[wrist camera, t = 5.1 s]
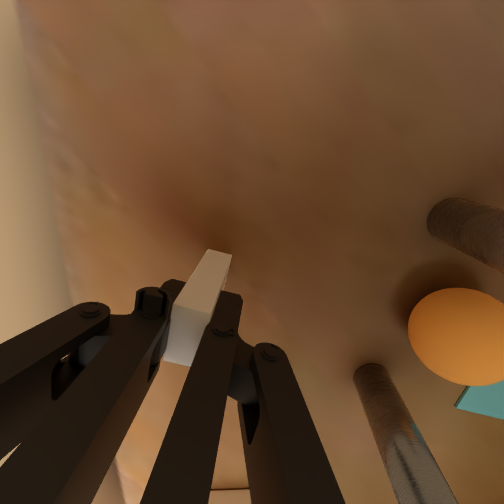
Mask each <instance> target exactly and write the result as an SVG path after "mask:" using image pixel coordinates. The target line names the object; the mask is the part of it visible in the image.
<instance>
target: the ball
mask: <svg viewBox="0 0 504 504" xmlns="http://www.w3.org/2000/svg"><path fill="white" fill-rule="evenodd" d="M408 336H409V340H410V343H411V346H412V348H413V350H414V352H415V354H416V355H417V356H418V358H419V359H420V360H421V361H422V363H423V364H424V365H425V366H426V367H428V368H429V369H430V370H431V371H433V372H434V373H435V374H437V375H439V376H440V377H442V378H444V379H446V380H448V381H451V382H454V383H458V384H461V385H467V386H486V385H491V384H495V383H498V382H500V381H502V380H504V304H503V303H501V302H500V301H499V300H497V299H495V298H493V297H492V296H490V295H487V294H485V293H483V292H480V291H477V290H473V289H468V288H446V289H442V290H438V291H435V292H433V293H431V294H429V295H427V296H426V297H424V298H423V299H422V300H421V301H419V302H418V304H417V305H416V306H415V307H414V309H413V311H412V313H411V315H410V318H409V322H408Z"/></svg>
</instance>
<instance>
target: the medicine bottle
mask: <svg viewBox="0 0 504 504" xmlns="http://www.w3.org/2000/svg"><path fill="white" fill-rule="evenodd" d="M208 504H251V497H250V490H249V489H240V490H215V491H210V496H209V502H208Z"/></svg>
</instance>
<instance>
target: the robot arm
mask: <svg viewBox="0 0 504 504" xmlns="http://www.w3.org/2000/svg"><path fill="white" fill-rule="evenodd" d="M231 258H232V255H231V254H227V253H223V252H219V251H215V250H211V249H208V250H207V251H206V253H205V254H204V256H203V257H202V259H201V261H200V262H199V264H198V265H197V267H196V268H195V270H194V272H193V273H192V275H191V276H190V278H189V279H188V281H187V282H183V281H179V280H175V279H171V280H169V281H166V282H164V284H163V285H162V286H161V287H160V288H158V287H145V288H142V289H139V290H138V291H136V300H135V308H134V311H133V312H132V313H131V314H128V315H113V314H110V311H111V310H110V308H109V307H108V306H107V305H105V304H103V303H99V302H86V303H81V304H78V305H76V306H74V307H72V308H70V309H68V310H66V311H64V312H62V313H60V314H58V315H56V316H54V317H52V318H50V319H48V320H46V321H44V322H43V323H41V324H39V325H37V326H35V327H33V328H31V329H29V330H27V331H25V332H23V333H21V334H19V335H17V336H15V337H14V338H11V339H9V340H7V341H5V342H4V343H2V344H0V460H1V459H2V458H3V457H5V456H6V455H7V454H8V453H9V452H10V451H12V450H13V449H14V448H15V447H16V446H18V445H19V444H20V443H21V444H20V445H19V446H18V447H17V448H16V449H15V451H14V452H13V453H12V454H11V455H10V457H9V458H8V459H7V460H6V461H5V462H4V464H3V465H2V466H1V467H0V504H91V503H92V501H93V499H94V496H95V495H96V493H97V491H98V489H99V487H100V485H101V483H102V481H103V479H104V477H105V475H106V473H107V471H108V469H109V467H110V465H111V463H112V461H113V459H114V457H115V455H116V453H117V451H118V449H119V447H120V445H121V443H122V441H123V439H124V437H125V435H126V433H127V431H128V429H129V427H130V425H131V423H132V422H133V420H134V418H135V416H136V414H137V412H138V410H139V408H140V406H141V404H142V402H143V400H144V398H145V396H146V394H147V392H148V390H149V388H150V386H151V384H152V382H153V380H154V378H155V376H156V374H157V372H158V370H159V366H160V360H161V358H162V356H163V354H164V359H163V360H164V361H168V362H172V363H176V364H180V365H185V366H189V367H190V370H189V373H188V375H187V378H186V381H185V383H184V386H183V389H182V391H181V394H180V397H179V400H178V402H177V405H176V408H175V410H174V413H173V416H172V418H171V421H170V424H169V426H168V429H167V432H166V435H165V437H164V440H163V443H162V445H161V448H160V451H159V453H158V456H157V459H156V461H155V464H154V467H153V470H152V472H151V475H150V478H149V480H148V483H147V486H146V488H145V491H144V494H143V496H142V499H141V502H140V504H208V502H209V496H210V490H211V485H212V479H213V473H214V468H215V462H216V457H217V451H218V445H219V440H220V434H221V428H222V423H223V417H224V411H225V406H226V400H227V395H228V396H230V397H232V398H233V399H235V400H237V401H238V404H237V406H238V413H239V420H240V427H241V434H242V441H243V448H244V455H245V462H246V469H247V476H248V483H249V490H250V497H251V504H345V501H344V499H343V496H342V494H341V491H340V489H339V486H338V484H337V481H336V478H335V476H334V473H333V471H332V468H331V466H330V463H329V461H328V458H327V456H326V453H325V451H324V448H323V446H322V443H321V441H320V438H319V436H318V433H317V431H316V428H315V426H314V423H313V421H312V418H311V415H310V413H309V410H308V408H307V405H306V403H305V400H304V398H303V395H302V393H301V390H300V388H299V385H298V383H297V380H296V378H295V375H294V373H293V370H292V368H291V365H290V363H289V360H288V358H287V355H286V354H285V352H284V351H283V350H282V349H281V348H280V347H278V346H276V345H274V344H271V343H259V344H257V345H256V346H255V347H253V346H251V345H249V344H247V343H245V342H244V341H243V340H242V339H241V338H240V336H239V334H238V327H239V321H240V315H241V310H242V304H243V300H242V298H241V296H240V295H238V294H234V293H230V292H226V291H224V288H225V284H226V279H227V275H228V271H229V267H230V263H231ZM164 352H165V353H164ZM66 355H68V356H67V357H65V356H66ZM63 357H65V358H64V359H62V358H63ZM61 359H62V360H61Z"/></svg>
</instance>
